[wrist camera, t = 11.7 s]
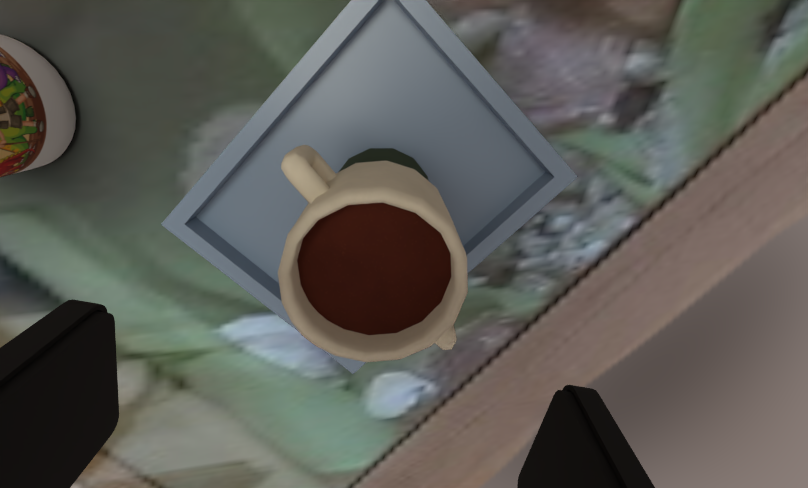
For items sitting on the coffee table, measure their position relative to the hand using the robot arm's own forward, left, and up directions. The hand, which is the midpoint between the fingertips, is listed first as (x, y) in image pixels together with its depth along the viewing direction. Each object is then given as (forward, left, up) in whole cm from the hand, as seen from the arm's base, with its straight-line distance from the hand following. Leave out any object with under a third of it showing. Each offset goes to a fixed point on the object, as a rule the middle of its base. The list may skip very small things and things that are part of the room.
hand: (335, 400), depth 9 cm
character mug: (-1, 0, -20) cm, 20 cm away
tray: (0, +1, -21) cm, 21 cm away
